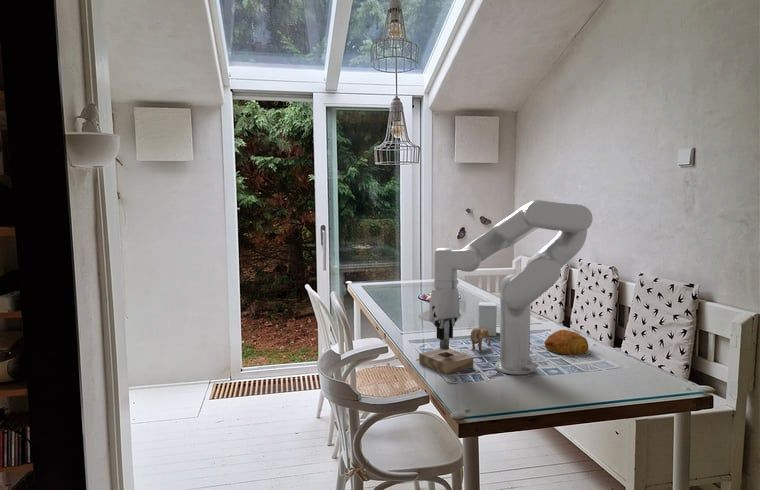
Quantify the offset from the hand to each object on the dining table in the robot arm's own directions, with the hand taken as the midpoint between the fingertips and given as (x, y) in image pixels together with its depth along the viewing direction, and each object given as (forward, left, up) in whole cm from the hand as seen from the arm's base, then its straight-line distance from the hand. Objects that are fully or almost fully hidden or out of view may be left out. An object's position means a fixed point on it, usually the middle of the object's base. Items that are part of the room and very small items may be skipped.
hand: (444, 337), depth 174 cm
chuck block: (0, 0, -10) cm, 10 cm away
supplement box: (+20, -40, -10) cm, 46 cm away
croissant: (-13, -48, -10) cm, 50 cm away
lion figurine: (+6, -23, -10) cm, 26 cm away
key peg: (0, 0, -4) cm, 4 cm away
